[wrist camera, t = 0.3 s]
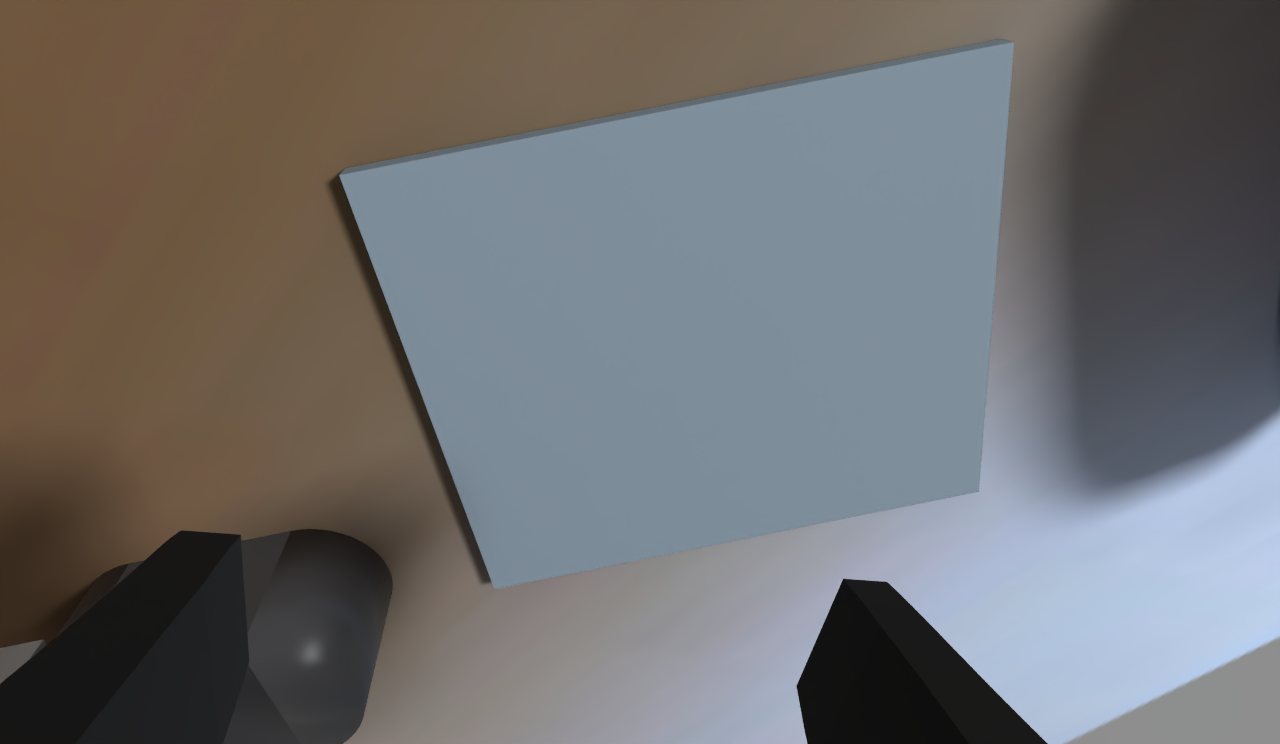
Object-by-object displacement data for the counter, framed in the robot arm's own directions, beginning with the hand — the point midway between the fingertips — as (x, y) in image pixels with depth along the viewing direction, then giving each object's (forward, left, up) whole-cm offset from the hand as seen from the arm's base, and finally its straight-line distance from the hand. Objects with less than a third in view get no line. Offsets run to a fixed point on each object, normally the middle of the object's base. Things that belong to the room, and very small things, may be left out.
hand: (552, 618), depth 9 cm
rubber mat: (-2, -3, -10) cm, 11 cm away
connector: (-7, +11, -10) cm, 16 cm away
